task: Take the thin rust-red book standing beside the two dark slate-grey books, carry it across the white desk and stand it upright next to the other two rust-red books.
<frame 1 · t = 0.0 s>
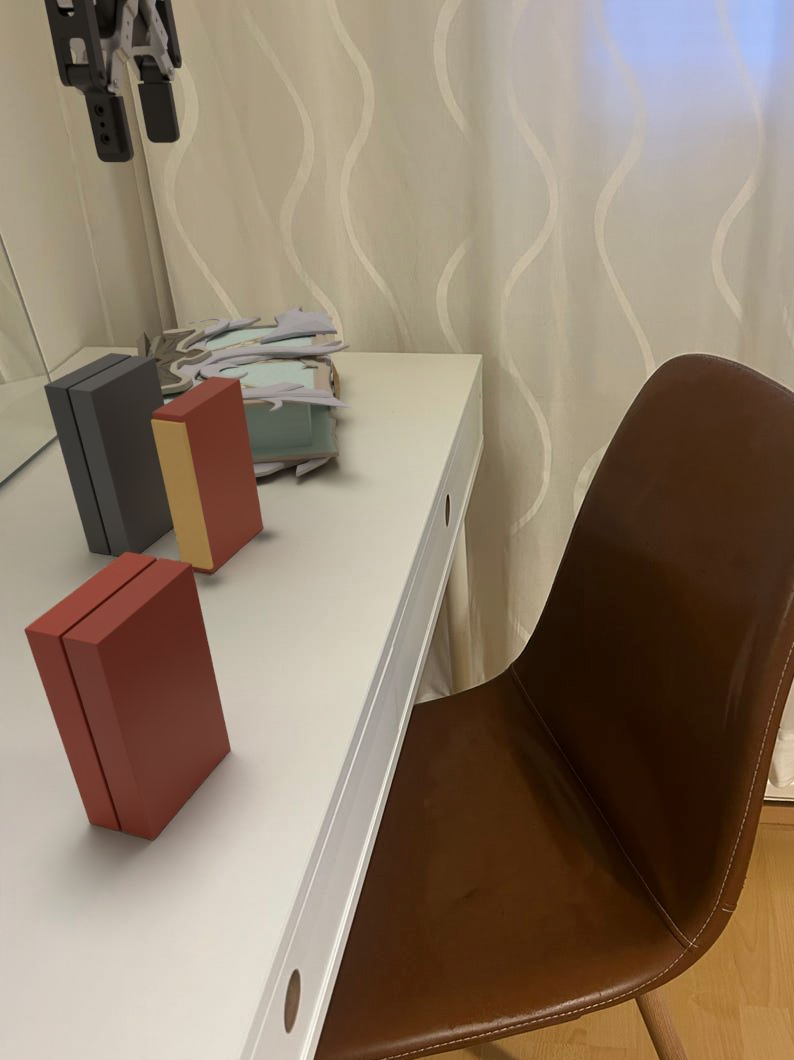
hand: (142, 151, 67), 29 cm above the table, tool pointing down, fingers open, 8 cm apart
ornate book: (247, 432, 100), on the table
red book: (225, 547, 80), on the table
grey books: (140, 533, 82), on the table
red books: (163, 784, 56), on the table
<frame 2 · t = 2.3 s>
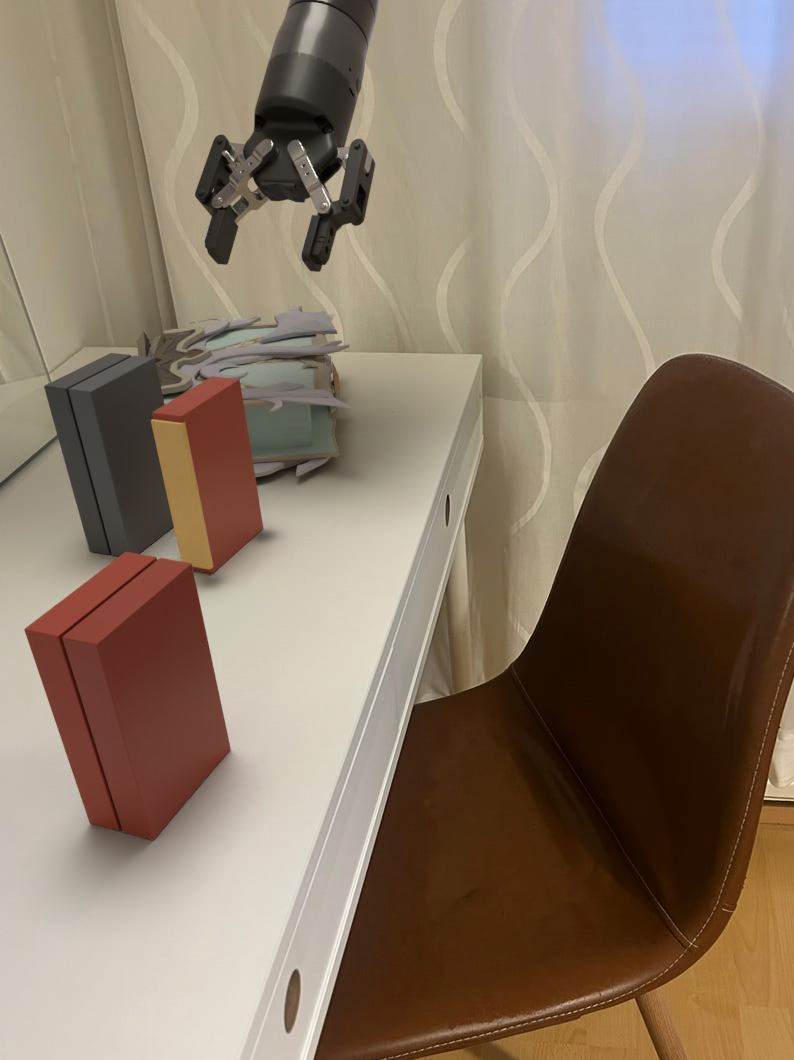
hand: (262, 262, 77), 20 cm above the table, tool tilted 45°, fingers open, 8 cm apart
nothing on the table moved.
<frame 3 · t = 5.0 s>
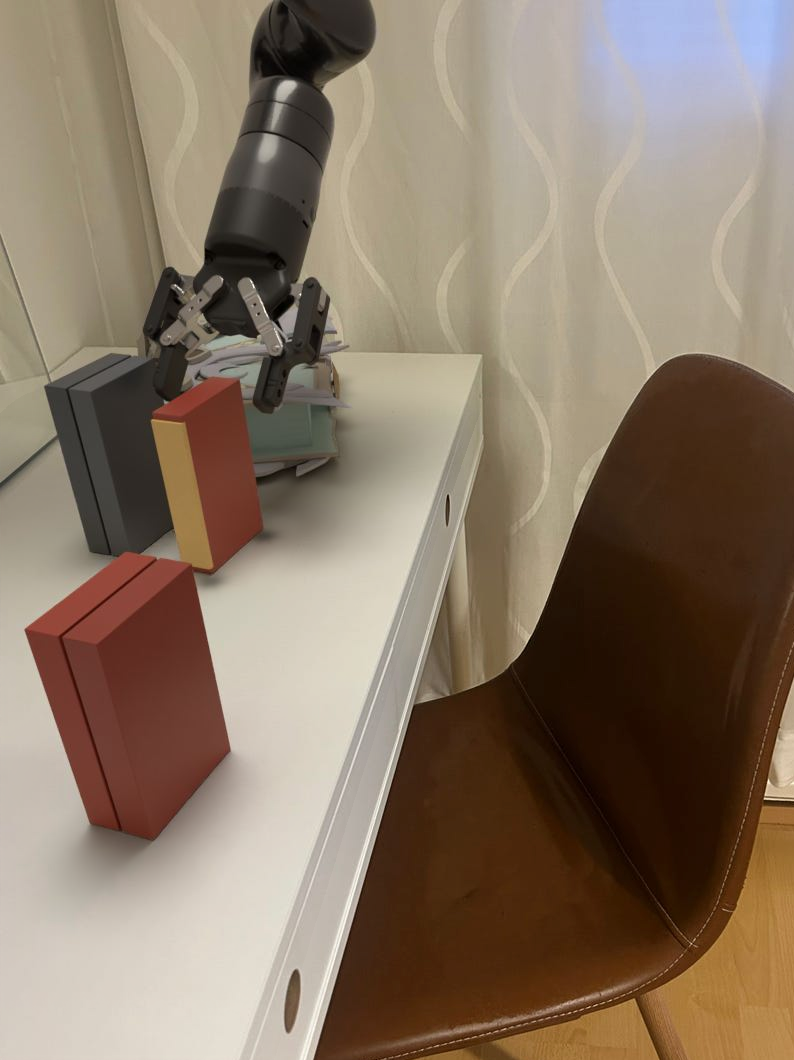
hand: (213, 403, 74), 12 cm above the table, tool tilted 45°, fingers open, 8 cm apart
nothing on the table moved.
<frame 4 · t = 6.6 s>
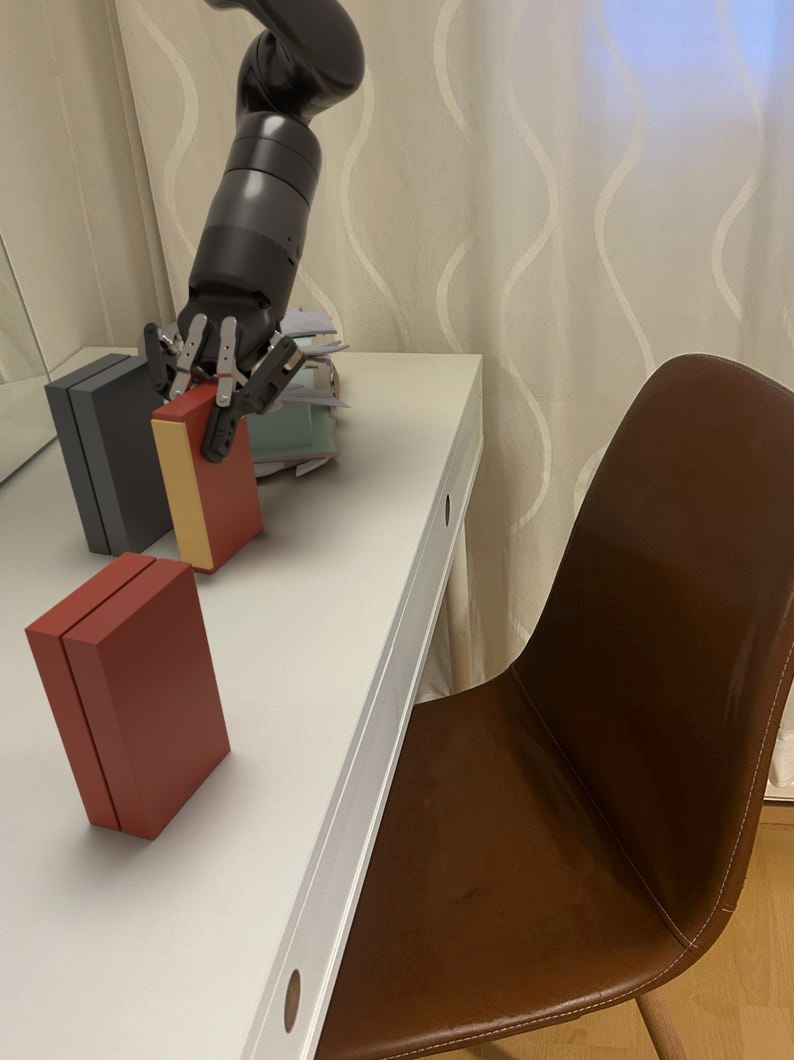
hand: (192, 456, 73), 9 cm above the table, tool tilted 45°, fingers closed on red book, 2 cm apart
red book: (226, 547, 80), on the table, touching gripper
everything else where it was.
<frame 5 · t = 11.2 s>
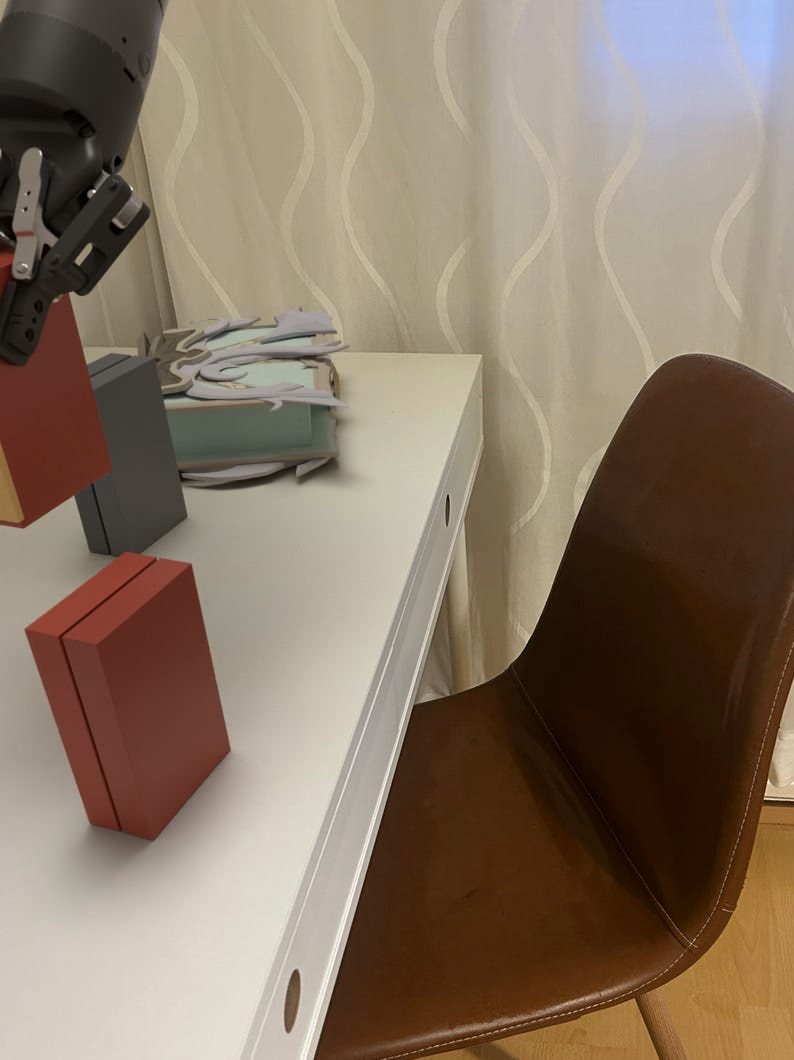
red book: (53, 495, 57), point 14 cm above the table, touching gripper
everything else where it was.
when the fingers open (9 cm above the table, at t = 16.1 s): red book stays where it is, on the table.
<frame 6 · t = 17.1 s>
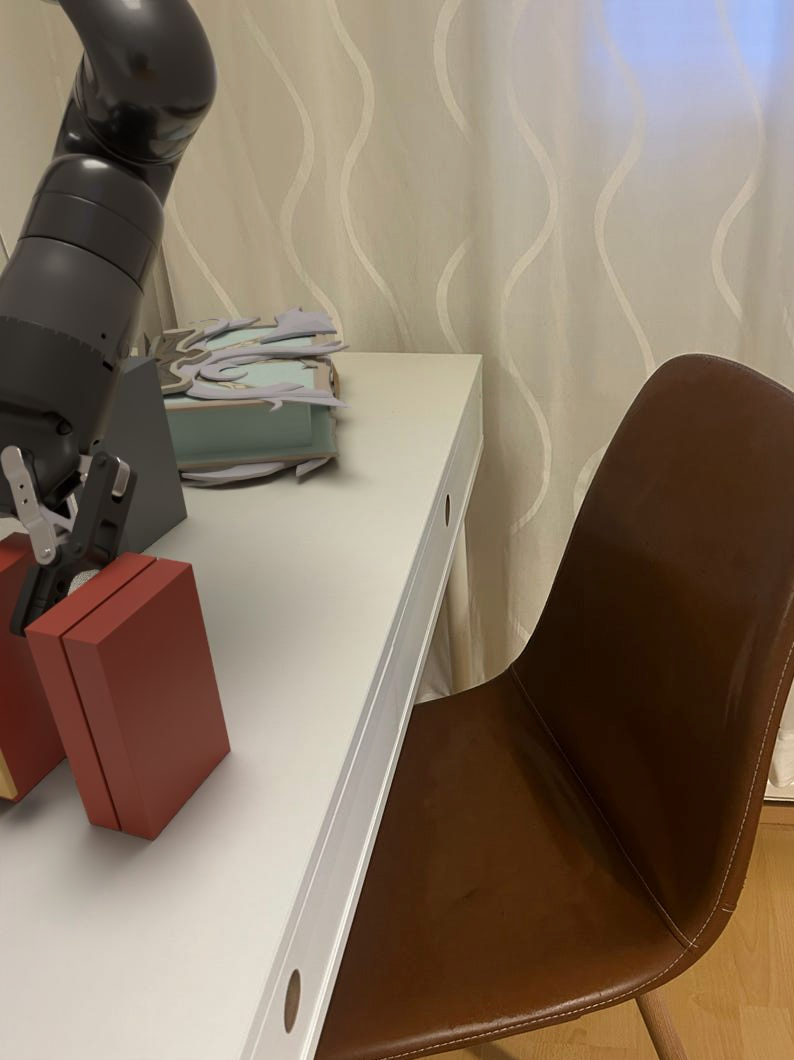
red book: (46, 754, 59), on the table
everything else where it was.
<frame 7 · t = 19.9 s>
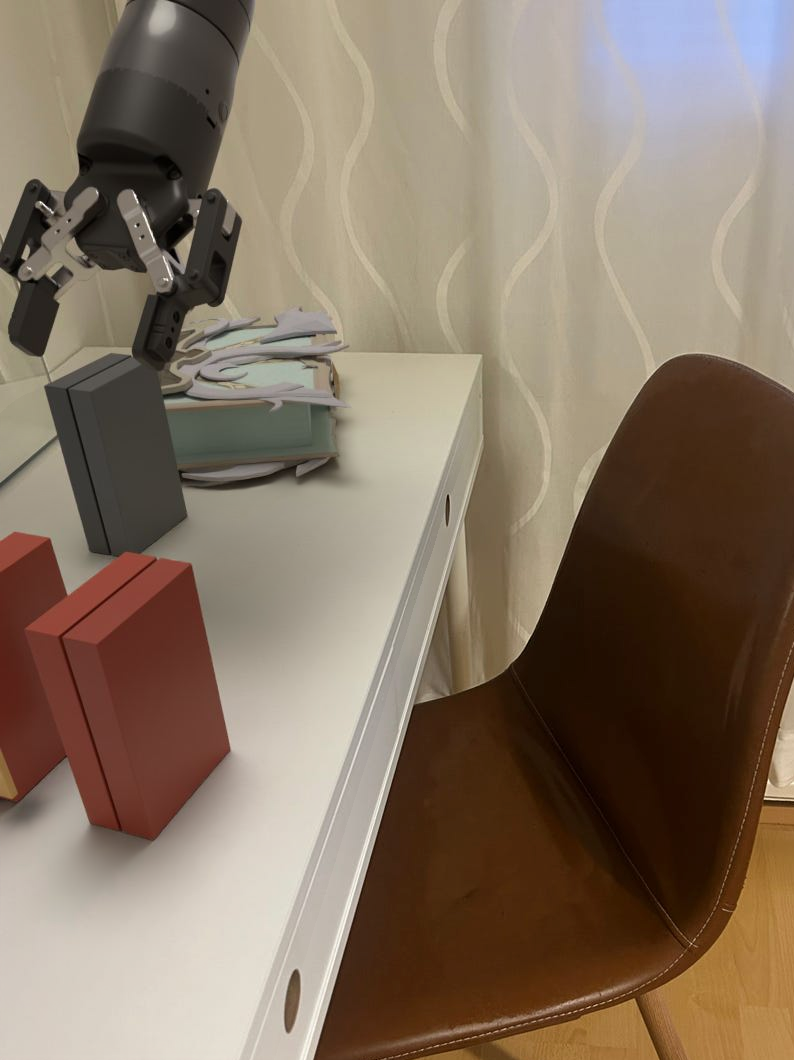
hand: (84, 357, 56), 21 cm above the table, tool tilted 45°, fingers open, 8 cm apart
nothing on the table moved.
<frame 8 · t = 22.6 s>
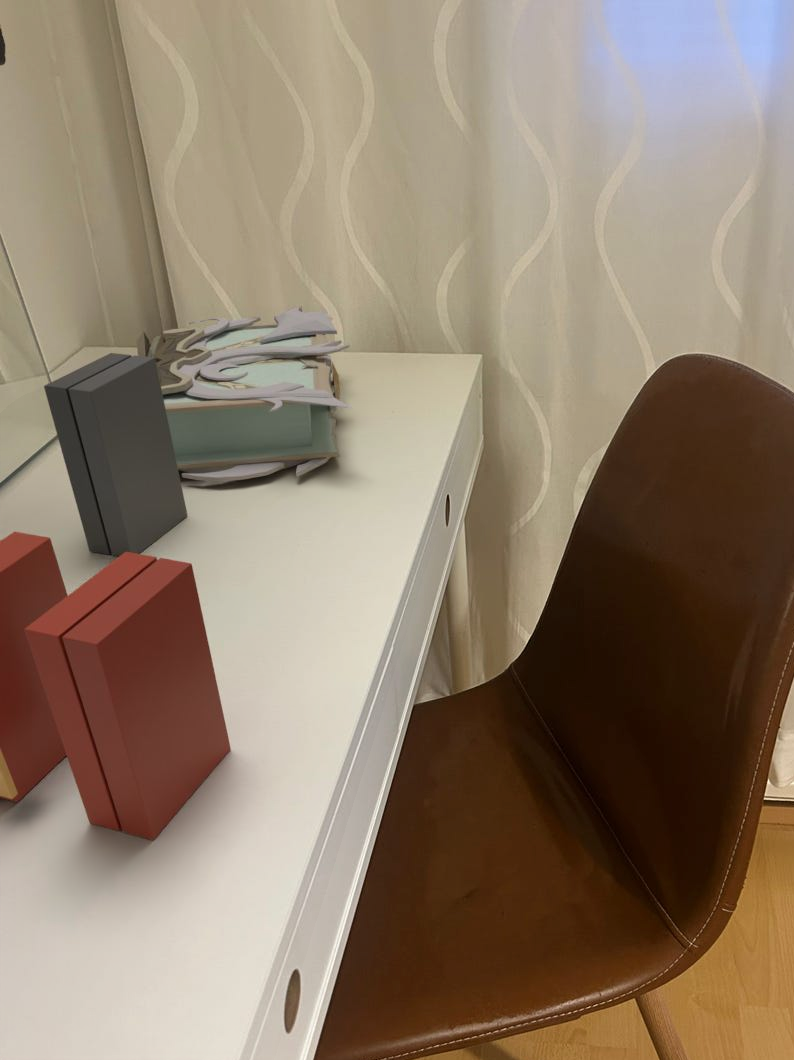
nothing on the table moved.
at the end: red book 0.2 cm from the target spot on the table beside the red books, on the table; red book tilted 0°; the gripper is holding nothing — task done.
